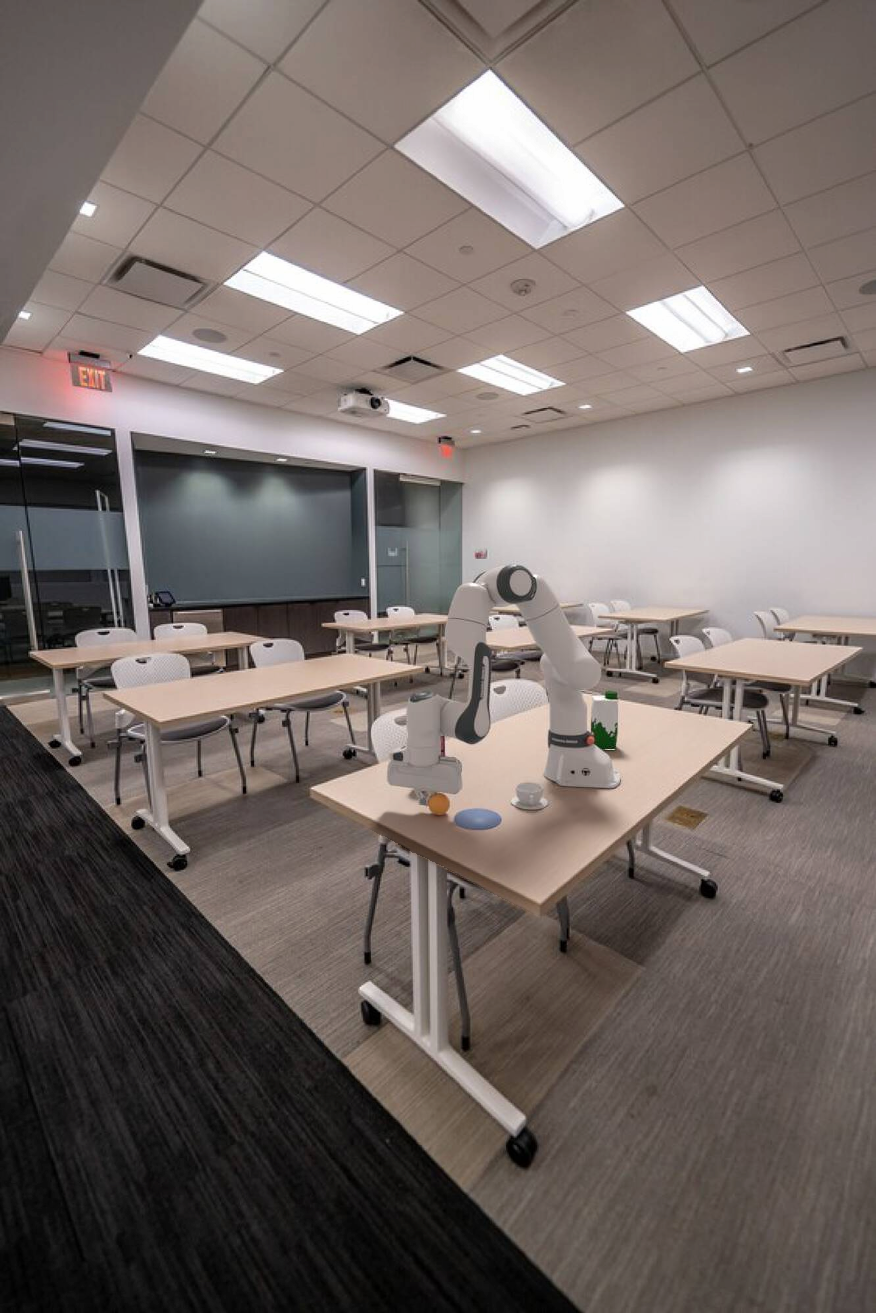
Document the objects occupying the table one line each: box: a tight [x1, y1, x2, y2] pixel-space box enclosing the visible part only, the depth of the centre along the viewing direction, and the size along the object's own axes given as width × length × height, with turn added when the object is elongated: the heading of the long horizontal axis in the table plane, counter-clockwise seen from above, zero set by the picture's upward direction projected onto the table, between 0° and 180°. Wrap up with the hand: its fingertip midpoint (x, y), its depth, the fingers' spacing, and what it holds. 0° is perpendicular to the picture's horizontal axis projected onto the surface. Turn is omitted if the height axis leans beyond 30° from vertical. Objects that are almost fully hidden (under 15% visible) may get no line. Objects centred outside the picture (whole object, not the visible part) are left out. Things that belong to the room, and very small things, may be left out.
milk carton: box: [590, 690, 619, 749], centre depth 192 cm, size 9×9×20 cm
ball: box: [427, 792, 451, 816], centre depth 141 cm, size 6×6×6 cm
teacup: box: [510, 781, 549, 810], centre depth 147 cm, size 10×10×5 cm
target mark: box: [453, 808, 502, 831], centre depth 138 cm, size 12×12×1 cm
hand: (424, 804), depth 143 cm, fingers closed
